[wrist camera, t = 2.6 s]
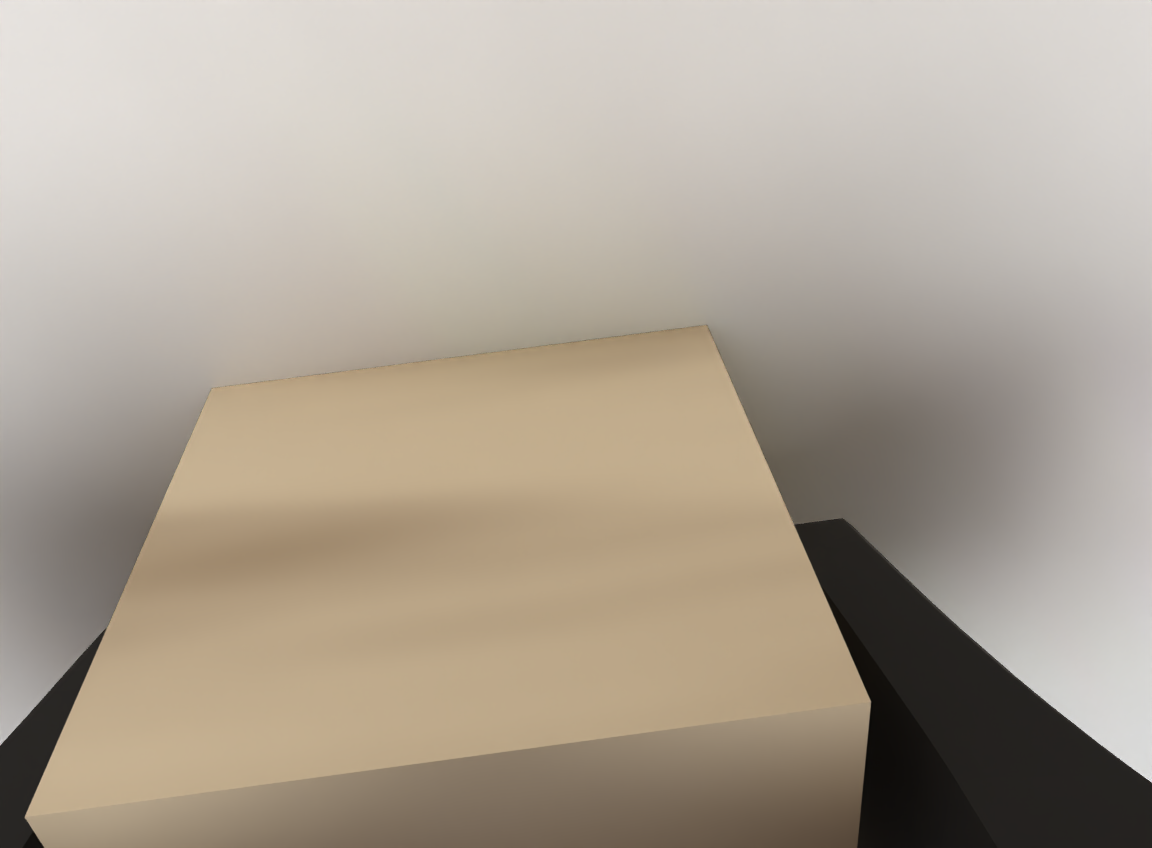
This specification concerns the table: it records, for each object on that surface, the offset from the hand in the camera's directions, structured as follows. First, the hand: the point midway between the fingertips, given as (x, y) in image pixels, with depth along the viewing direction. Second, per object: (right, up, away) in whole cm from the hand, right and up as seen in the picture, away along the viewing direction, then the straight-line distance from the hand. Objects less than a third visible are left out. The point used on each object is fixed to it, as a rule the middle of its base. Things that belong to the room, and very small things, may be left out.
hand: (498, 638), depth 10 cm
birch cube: (0, +1, +1) cm, 2 cm away
